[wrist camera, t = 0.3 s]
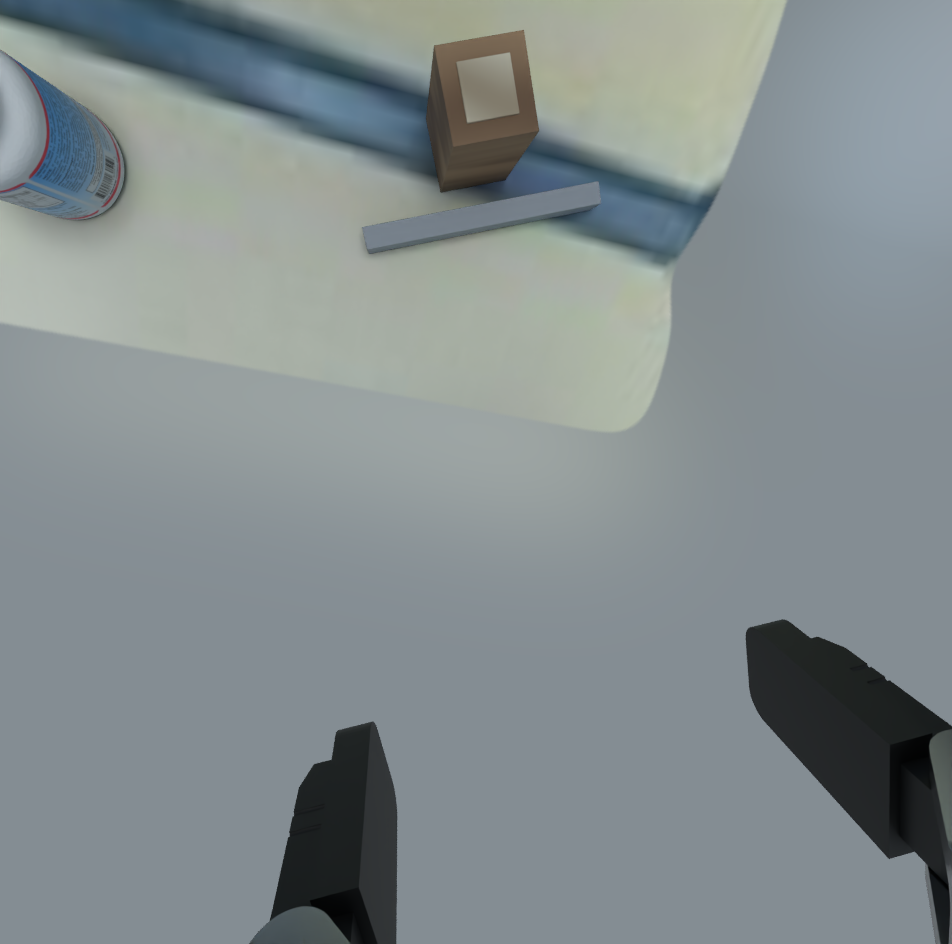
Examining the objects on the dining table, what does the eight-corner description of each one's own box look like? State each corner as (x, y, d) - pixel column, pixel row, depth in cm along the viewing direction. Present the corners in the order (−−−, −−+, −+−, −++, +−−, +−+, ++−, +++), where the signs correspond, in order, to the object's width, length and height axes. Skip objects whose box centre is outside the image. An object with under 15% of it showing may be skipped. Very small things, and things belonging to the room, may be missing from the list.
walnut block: (425, 119, 33) (434, 44, 25) (492, 106, 34) (524, 28, 25) (440, 192, 35) (453, 145, 26) (505, 180, 35) (539, 129, 26)
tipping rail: (364, 232, 34) (362, 227, 33) (587, 189, 35) (598, 181, 34) (369, 253, 35) (367, 249, 33) (590, 210, 36) (601, 203, 34)
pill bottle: (64, 76, 31) (-119, -61, 20) (151, 175, 32) (26, 98, 22) (-17, 151, 31) (-240, 56, 20) (73, 245, 33) (-89, 204, 22)
